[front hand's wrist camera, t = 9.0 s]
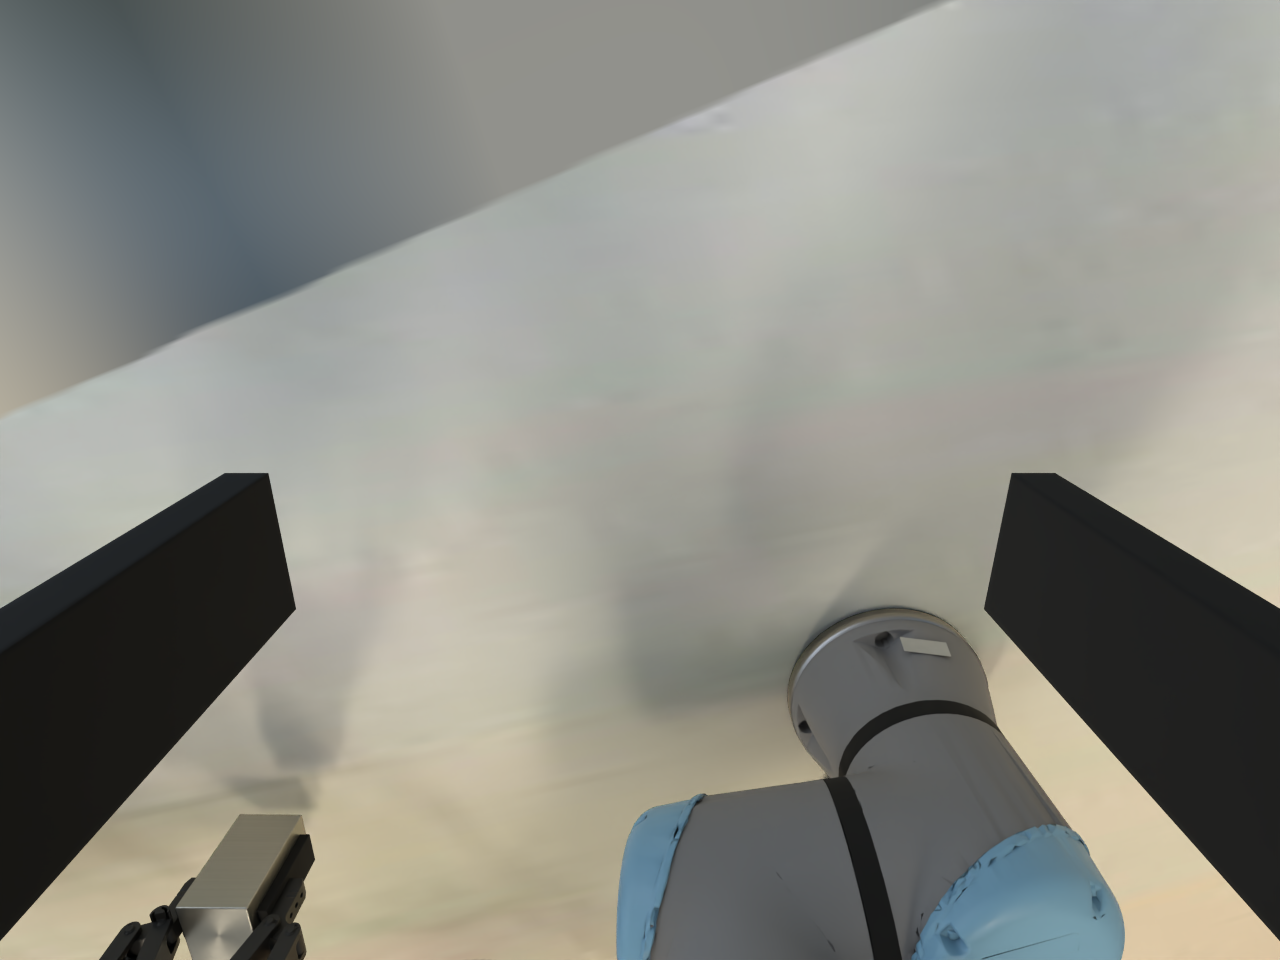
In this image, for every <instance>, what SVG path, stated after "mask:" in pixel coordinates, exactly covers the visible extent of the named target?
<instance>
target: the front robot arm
mask: <svg viewBox="0 0 1280 960" xmlns="http://www.w3.org/2000/svg"><path fill="white" fill-rule="evenodd" d="M295 610H296V607H295V602H294V597H293V592H292V587H291V582H290V577H289V572H288V567H287V563H286V558H285V553H284V548H283V543H282V538H281V533H280V528H279V523H278V518H277V514H276V509H275V504H274V499H273V494H272V489H271V484H270V479H269V474H268V473H224V474H223V475H221V476H219V477H218V478H216V479H214V480H213V481H211V482H209V483H208V484H206V485H204V486H203V487H201V488H200V489H198V490H196V491H195V492H193V493H191V494H190V495H188V496H186V497H185V498H183V499H181V500H180V501H178V502H176V503H175V504H173V505H171V506H170V507H168V508H166V509H165V510H163V511H161V512H160V513H158V514H156V515H155V516H153V517H151V518H150V519H148V520H146V521H145V522H143V523H141V524H140V525H138V526H136V527H135V528H133V529H132V530H130V531H128V532H127V533H125V534H123V535H122V536H120V537H118V538H117V539H115V540H113V541H112V542H110V543H108V544H107V545H105V546H103V547H102V548H100V549H98V550H97V551H95V552H93V553H92V554H90V555H88V556H87V557H85V558H83V559H82V560H80V561H78V562H77V563H75V564H73V565H72V566H70V567H68V568H67V569H65V570H64V571H62V572H60V573H59V574H57V575H55V576H54V577H52V578H50V579H49V580H47V581H45V582H44V583H42V584H40V585H39V586H37V587H35V588H34V589H32V590H30V591H29V592H27V593H25V594H24V595H22V596H20V597H19V598H17V599H15V600H14V601H12V602H10V603H9V604H7V605H5V606H4V607H2V608H0V941H1V939H2V938H3V937H4V936H5V935H6V934H7V933H8V932H9V930H10V929H11V928H12V927H13V926H14V925H15V924H16V923H17V921H18V920H19V919H20V918H21V917H22V916H23V915H24V914H25V913H26V911H27V910H28V909H29V908H30V907H31V906H32V905H33V904H34V902H35V901H36V900H37V899H38V898H39V897H40V896H41V895H42V893H43V892H44V891H45V890H46V889H47V888H48V887H49V886H50V884H51V883H52V882H53V881H54V880H55V879H56V878H57V877H58V875H59V874H60V873H61V872H62V871H63V870H64V869H65V868H66V866H67V865H68V864H69V863H70V862H71V861H72V860H73V859H74V858H75V856H76V855H77V854H78V853H79V852H80V851H81V850H82V849H83V847H84V846H85V845H86V844H87V843H88V842H89V841H90V840H91V838H92V837H93V836H94V835H95V834H96V833H97V832H98V831H99V829H100V828H101V827H102V826H103V825H104V824H105V823H106V822H107V820H108V819H109V818H110V817H111V816H112V815H113V814H114V813H115V812H116V810H117V809H118V808H119V807H120V806H121V805H122V804H123V803H124V801H125V800H126V799H127V798H128V797H129V796H130V795H131V794H132V792H133V791H134V790H135V789H136V788H137V787H138V786H139V785H140V783H141V782H142V781H143V780H144V779H145V778H146V777H147V776H148V774H149V773H150V772H151V771H152V770H153V769H154V768H155V767H156V765H157V764H158V763H159V762H160V761H161V760H162V759H163V758H164V757H165V755H166V754H167V753H168V752H169V751H170V750H171V749H172V748H173V746H174V745H175V744H176V743H177V742H178V741H179V740H180V739H181V737H182V736H183V735H184V734H185V733H186V732H187V731H188V730H189V728H190V727H191V726H192V725H193V724H194V723H195V722H196V721H197V719H198V718H199V717H200V716H201V715H202V714H203V713H204V712H205V711H206V709H207V708H208V707H209V706H210V705H211V704H212V703H213V702H214V700H215V699H216V698H217V697H218V696H219V695H220V694H221V693H222V691H223V690H224V689H225V688H226V687H227V686H228V685H229V684H230V682H231V681H232V680H233V679H234V678H235V677H236V676H237V675H238V673H239V672H240V671H241V670H242V669H243V668H244V667H245V666H246V664H247V663H248V662H249V661H250V660H251V659H252V658H253V657H254V656H255V654H256V653H257V652H258V651H259V650H260V649H261V648H262V647H263V645H264V644H265V643H266V642H267V641H268V640H269V639H270V638H271V636H272V635H273V634H274V633H275V632H276V631H277V630H278V629H279V627H280V626H281V625H282V624H283V623H284V622H285V621H286V620H287V618H288V617H289V616H290V615H291V614H292V613H293V612H294V611H295ZM984 610H985V611H986V612H987V613H988V614H989V615H990V616H991V617H992V618H993V620H994V621H995V622H996V623H997V624H998V625H999V626H1000V627H1001V629H1002V630H1003V631H1004V632H1005V633H1006V634H1007V635H1008V636H1009V638H1010V639H1011V640H1012V641H1013V642H1014V643H1015V644H1016V645H1017V647H1018V648H1019V649H1020V650H1021V651H1022V652H1023V653H1024V654H1025V656H1026V657H1027V658H1028V659H1029V660H1030V661H1031V662H1032V663H1033V664H1034V666H1035V667H1036V668H1037V669H1038V670H1039V671H1040V672H1041V673H1042V675H1043V676H1044V677H1045V678H1046V679H1047V680H1048V681H1049V682H1050V684H1051V685H1052V686H1053V687H1054V688H1055V689H1056V690H1057V691H1058V693H1059V694H1060V695H1061V696H1062V697H1063V698H1064V699H1065V700H1066V702H1067V703H1068V704H1069V705H1070V706H1071V707H1072V708H1073V709H1074V711H1075V712H1076V713H1077V714H1078V715H1079V716H1080V717H1081V718H1082V719H1083V721H1084V722H1085V723H1086V724H1087V725H1088V726H1089V727H1090V728H1091V730H1092V731H1093V732H1094V733H1095V734H1096V735H1097V736H1098V737H1099V739H1100V740H1101V741H1102V742H1103V743H1104V744H1105V745H1106V746H1107V748H1108V749H1109V750H1110V751H1111V752H1112V753H1113V754H1114V755H1115V757H1116V758H1117V759H1118V760H1119V761H1120V762H1121V763H1122V764H1123V765H1124V767H1125V768H1126V769H1127V770H1128V771H1129V772H1130V773H1131V774H1132V776H1133V777H1134V778H1135V779H1136V780H1137V781H1138V782H1139V783H1140V785H1141V786H1142V787H1143V788H1144V789H1145V790H1146V791H1147V792H1148V794H1149V795H1150V796H1151V797H1152V798H1153V799H1154V800H1155V801H1156V803H1157V804H1158V805H1159V806H1160V807H1161V808H1162V809H1163V810H1164V812H1165V813H1166V814H1167V815H1168V816H1169V817H1170V818H1171V819H1172V820H1173V822H1174V823H1175V824H1176V825H1177V826H1178V827H1179V828H1180V829H1181V831H1182V832H1183V833H1184V834H1185V835H1186V836H1187V837H1188V838H1189V840H1190V841H1191V842H1192V843H1193V844H1194V845H1195V846H1196V847H1197V849H1198V850H1199V851H1200V852H1201V853H1202V854H1203V855H1204V856H1205V858H1206V859H1207V860H1208V861H1209V862H1210V863H1211V864H1212V865H1213V866H1214V868H1215V869H1216V870H1217V871H1218V872H1219V873H1220V874H1221V875H1222V877H1223V878H1224V879H1225V880H1226V881H1227V882H1228V883H1229V884H1230V886H1231V887H1232V888H1233V889H1234V890H1235V891H1236V892H1237V893H1238V895H1239V896H1240V897H1241V898H1242V899H1243V900H1244V901H1245V902H1246V904H1247V905H1248V906H1249V907H1250V908H1251V909H1252V910H1253V911H1254V913H1255V914H1256V915H1257V916H1258V917H1259V918H1260V919H1261V920H1262V921H1263V923H1264V924H1265V925H1266V926H1267V927H1268V928H1269V929H1270V930H1271V932H1272V933H1273V934H1274V935H1275V936H1276V937H1277V938H1278V939H1279V941H1280V608H1278V607H1276V606H1275V605H1273V604H1271V603H1270V602H1268V601H1266V600H1265V599H1263V598H1261V597H1260V596H1258V595H1256V594H1255V593H1253V592H1251V591H1250V590H1248V589H1246V588H1245V587H1243V586H1241V585H1240V584H1238V583H1236V582H1235V581H1233V580H1231V579H1230V578H1228V577H1226V576H1225V575H1223V574H1221V573H1220V572H1218V571H1216V570H1215V569H1213V568H1212V567H1210V566H1208V565H1207V564H1205V563H1203V562H1202V561H1200V560H1198V559H1197V558H1195V557H1193V556H1192V555H1190V554H1188V553H1187V552H1185V551H1183V550H1182V549H1180V548H1178V547H1177V546H1175V545H1173V544H1172V543H1170V542H1168V541H1167V540H1165V539H1163V538H1162V537H1160V536H1158V535H1157V534H1155V533H1153V532H1152V531H1150V530H1148V529H1147V528H1145V527H1144V526H1142V525H1140V524H1139V523H1137V522H1135V521H1134V520H1132V519H1130V518H1129V517H1127V516H1125V515H1124V514H1122V513H1120V512H1119V511H1117V510H1115V509H1114V508H1112V507H1110V506H1109V505H1107V504H1105V503H1104V502H1102V501H1100V500H1099V499H1097V498H1095V497H1094V496H1092V495H1090V494H1089V493H1087V492H1085V491H1084V490H1082V489H1080V488H1079V487H1077V486H1076V485H1074V484H1072V483H1071V482H1069V481H1067V480H1066V479H1064V478H1062V477H1061V476H1059V475H1057V474H1056V473H1012V474H1011V479H1010V484H1009V489H1008V494H1007V499H1006V504H1005V509H1004V514H1003V518H1002V523H1001V528H1000V533H999V538H998V543H997V548H996V553H995V558H994V563H993V567H992V572H991V577H990V582H989V587H988V592H987V597H986V602H985V607H984ZM788 708H789V712H790V716H791V719H792V722H793V726H794V728H795V731H796V734H797V736H798V737H799V739H800V741H801V742H802V744H803V746H804V747H805V749H806V750H807V752H808V753H809V754H810V755H811V757H812V758H813V759H814V760H815V761H816V762H817V763H818V765H819V766H820V767H821V768H822V769H823V770H824V771H825V773H826V774H827V775H828V776H829V777H830V778H829V779H820V780H814V781H808V782H801V783H794V784H787V785H780V786H773V787H766V788H759V789H751V790H744V791H737V792H730V793H723V794H716V795H709V796H708V795H706V794H698V795H696V796H694V797H693V798H692V799H691V800H686V801H681V802H676V803H671V804H666V805H661V806H657V807H653V808H651V809H649V810H647V811H646V812H644V813H643V814H642V815H641V816H640V817H639V818H638V820H637V821H636V822H635V824H634V826H633V828H632V831H631V833H630V834H629V837H628V840H627V843H626V847H625V851H624V855H623V861H622V867H621V874H620V882H619V892H618V906H617V960H1121V958H1122V954H1123V949H1124V942H1125V929H1124V921H1123V917H1122V913H1121V910H1120V907H1119V904H1118V902H1117V900H1116V898H1115V896H1114V895H1113V893H1112V891H1111V889H1110V888H1109V886H1108V885H1107V883H1106V881H1105V880H1104V878H1103V877H1102V875H1101V873H1100V872H1099V870H1098V868H1097V867H1096V865H1095V864H1094V862H1093V860H1092V859H1091V857H1090V854H1089V850H1088V848H1087V846H1086V844H1084V841H1083V840H1082V838H1081V837H1080V836H1079V835H1078V834H1077V833H1076V832H1075V831H1073V830H1072V829H1071V828H1070V826H1069V825H1068V823H1067V822H1066V821H1065V819H1064V818H1063V817H1062V815H1061V814H1060V812H1059V811H1058V810H1057V808H1056V807H1055V805H1054V804H1053V803H1052V801H1051V800H1050V799H1049V797H1048V796H1047V794H1046V793H1045V792H1044V790H1043V789H1042V787H1041V786H1040V785H1039V783H1038V782H1037V781H1036V779H1035V778H1034V776H1033V775H1032V774H1031V772H1030V771H1029V770H1028V768H1027V767H1026V765H1025V764H1024V763H1023V761H1022V760H1021V758H1020V757H1019V756H1018V754H1017V753H1016V752H1015V750H1014V749H1013V747H1012V746H1011V745H1010V743H1009V742H1008V741H1007V739H1006V738H1005V737H1004V735H1003V734H1002V732H1001V731H1000V730H999V728H998V727H997V723H996V719H995V714H994V709H993V705H992V701H991V697H990V693H989V689H988V682H987V678H986V675H985V672H984V669H983V667H982V665H981V662H980V660H979V659H978V657H977V655H976V653H975V652H974V651H973V649H972V648H971V647H970V645H969V644H968V643H967V642H966V640H965V639H964V638H963V637H962V636H961V634H960V633H959V632H958V631H957V630H955V629H954V628H953V627H952V626H950V625H949V624H947V623H946V622H944V621H943V620H941V619H939V618H937V617H934V616H932V615H930V614H927V613H923V612H920V611H915V610H909V609H880V610H873V611H868V612H864V613H861V614H857V615H854V616H852V617H849V618H847V619H844V620H842V621H840V622H838V623H837V624H835V625H833V626H832V627H830V628H828V629H827V630H825V631H824V632H823V633H821V634H820V635H819V636H818V637H817V638H816V639H814V640H813V641H812V642H811V643H810V645H809V646H808V647H807V648H806V649H805V650H804V652H803V653H802V654H801V656H800V657H799V659H798V661H797V662H796V664H795V666H794V669H793V671H792V674H791V677H790V680H789V685H788Z"/></svg>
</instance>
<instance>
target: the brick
mask: <svg viewBox="0 0 1280 960" xmlns="http://www.w3.org/2000/svg"><path fill="white" fill-rule="evenodd" d="M300 834H306V832H305V828H304V823H303V819H302V815H247V814H241V815H239V816H238V818H237V819H236V821H235V822H234V824H233V825H232V827H231V828H230V829H229V831H228V832H227V834H226V835H225V837H224V838H223V840H222V841H221V843H220V844H219V845H218V847H217V848H216V850H215V851H214V853H213V854H212V856H211V857H210V858H209V860H208V861H207V863H206V864H205V866H204V867H203V869H202V870H201V871H200V873H199V874H198V876H197V877H196V879H195V880H194V882H193V883H192V884H191V886H190V887H189V889H188V890H187V892H186V893H185V895H184V896H183V897H182V899H181V900H180V902H179V903H178V905H177V906H176V908H175V909H176V912H177V915H178V918H179V921H180V924H181V927H182V930H183V933H184V936H185V939H186V942H187V945H188V948H189V951H190V954H191V957H192V960H230V959H231V957H232V956H233V955H234V954H235V953H236V951H237V950H238V949H239V948H240V947H241V945H242V944H243V943H244V942H245V941H246V939H247V938H248V937H249V936H250V935H251V933H252V932H253V931H254V930H255V929H256V927H257V926H258V925H259V924H260V923H259V919H258V915H257V909H258V907H259V905H260V904H261V902H262V900H263V898H264V897H265V895H266V893H267V891H268V890H269V888H270V886H271V884H272V883H273V881H274V879H275V877H276V876H277V874H278V872H279V870H280V869H281V867H282V865H283V863H284V862H285V860H286V858H287V856H288V855H289V853H290V851H291V849H292V848H293V846H294V844H295V842H296V841H297V839H298V837H299V835H300Z"/></svg>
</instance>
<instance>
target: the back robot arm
mask: <svg viewBox="0 0 1280 960" xmlns="http://www.w3.org/2000/svg"><path fill="white" fill-rule="evenodd" d="M314 861H315V858H314V853H313V849H312V844H311V840H310V835H309V834H300V835H299V837H298V839H297V841H296V842H295V844H294V846H293V848H292V849H291V851H290V853H289V855H288V856H287V858H286V860H285V862H284V863H283V865H282V867H281V869H280V870H279V872H278V874H277V876H276V877H275V879H274V881H273V883H272V884H271V886H270V888H269V890H268V891H267V893H266V895H265V897H264V898H263V900H262V902H261V904H260V905H259V907H258V909H257V915H258V919H259V923H260V924H259V925H258V926H257V927H256V929H255V930H254V931H253V932H252V933H251V935H250V936H249V937H248V938H247V939H246V941H245V942H244V943H243V944H242V945H241V947H240V948H239V949H238V950H237V951H236V953H235V954H234V955H233V956H232V957H231V959H230V960H303V959H304V957H305V955H306V947H305V943H304V939H303V934H302V931H301V927H300V924H299V923H293V921H294V919H295V917H296V915H297V913H298V911H299V909H300V907H301V905H302V903H303V901H304V900H305V896H306V890H305V886H304V880H305V878H306V876H307V874H308V872H309V870H310V868H311V866H312V864H313V862H314ZM195 879H196V878H191V879H190V880H188V881H187V882H186V883H185V884H184V885H183V887H182V888H181V890H180V891H179V893H178V894H177V896H176V897H175V898H174V900H173V901H172V903H171V904H170V905H169V906H167V905H162V906H159V907H157V908H156V909H154V910H153V911H152V912H151V914H150V918H151V921H152V922H151V923H147V924H144V925H140V923H139V922H131V923H129V924H127V925H126V926H124V927H123V928H122V929H121V931H120V932H119V933H118V935H117V936H116V937H115V939H114V940H113V942H112V943H111V944H110V946H109V947H108V948H107V950H106V951H105V952H104V954H103V955H102V957H101V958H100V959H99V960H173V958H174V956H175V953H176V951H177V948H178V946H179V943H180V939H179V936H180V934H181V933H182V932H183V930H182V927H181V924H180V921H179V918H178V915H177V912H176V909H175V908H176V906H177V905H178V903H179V902H180V900H181V899H182V897H183V896H184V895H185V893H186V892H187V890H188V889H189V887H190V886H191V884H192V883H193V882H194V880H195ZM183 935H184V933H183ZM184 937H185V936H184Z"/></svg>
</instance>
